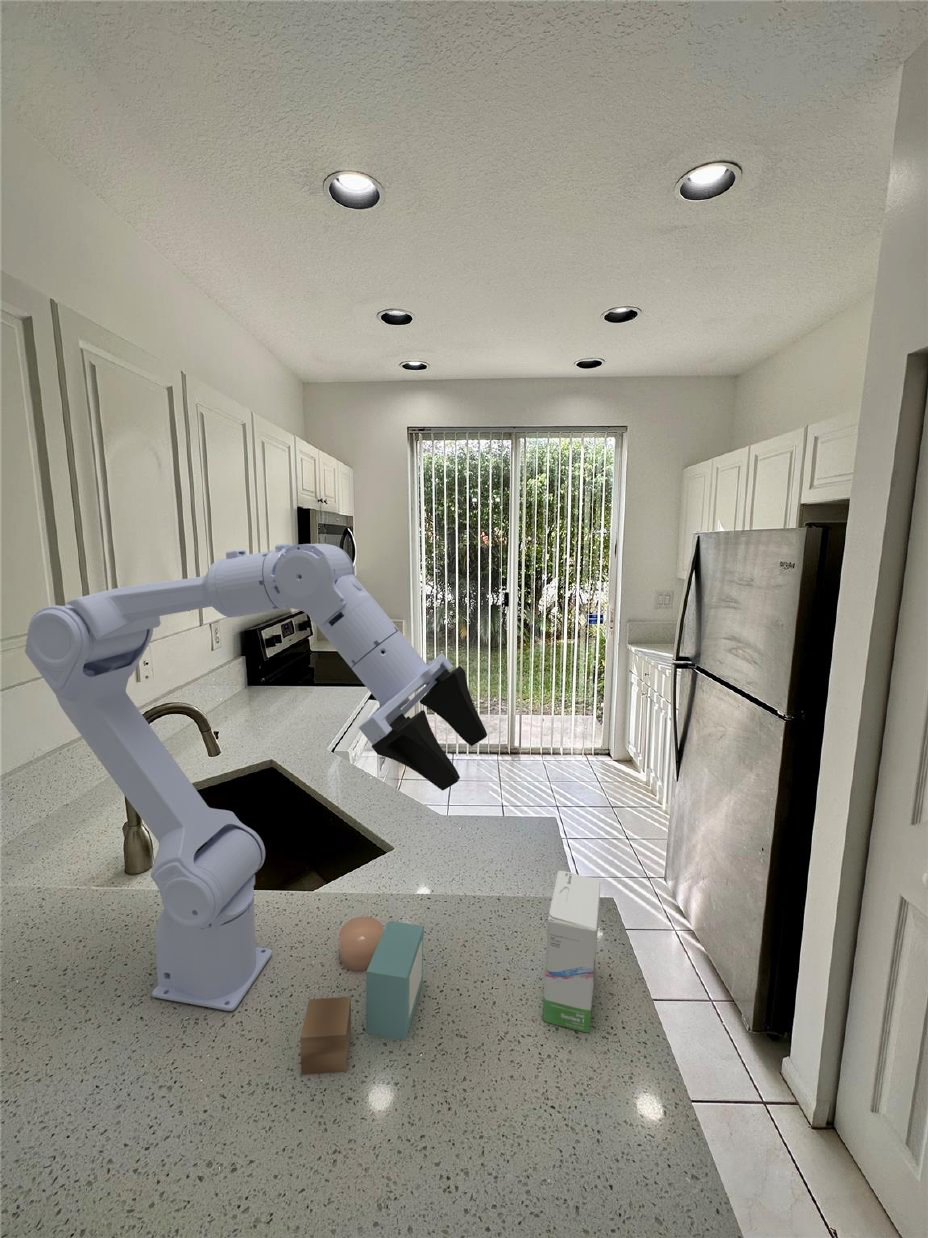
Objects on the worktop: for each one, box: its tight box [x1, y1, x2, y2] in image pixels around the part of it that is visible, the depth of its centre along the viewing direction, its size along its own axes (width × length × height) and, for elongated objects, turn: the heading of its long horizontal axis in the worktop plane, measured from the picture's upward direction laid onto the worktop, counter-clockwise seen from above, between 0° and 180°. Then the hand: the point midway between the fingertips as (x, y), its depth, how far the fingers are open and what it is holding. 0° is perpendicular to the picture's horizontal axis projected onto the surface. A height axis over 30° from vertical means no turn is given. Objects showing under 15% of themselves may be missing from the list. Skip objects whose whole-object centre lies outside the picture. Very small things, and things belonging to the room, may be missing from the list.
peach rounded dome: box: [339, 916, 384, 972], centre depth 62 cm, size 5×5×3 cm
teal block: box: [365, 920, 425, 1042], centre depth 55 cm, size 4×7×7 cm, turn 171°
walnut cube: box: [300, 996, 352, 1076], centre depth 50 cm, size 4×4×4 cm
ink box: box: [542, 870, 601, 1033], centre depth 56 cm, size 8×5×12 cm, turn 163°
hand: (466, 761), depth 50 cm, fingers open, 7 cm apart
